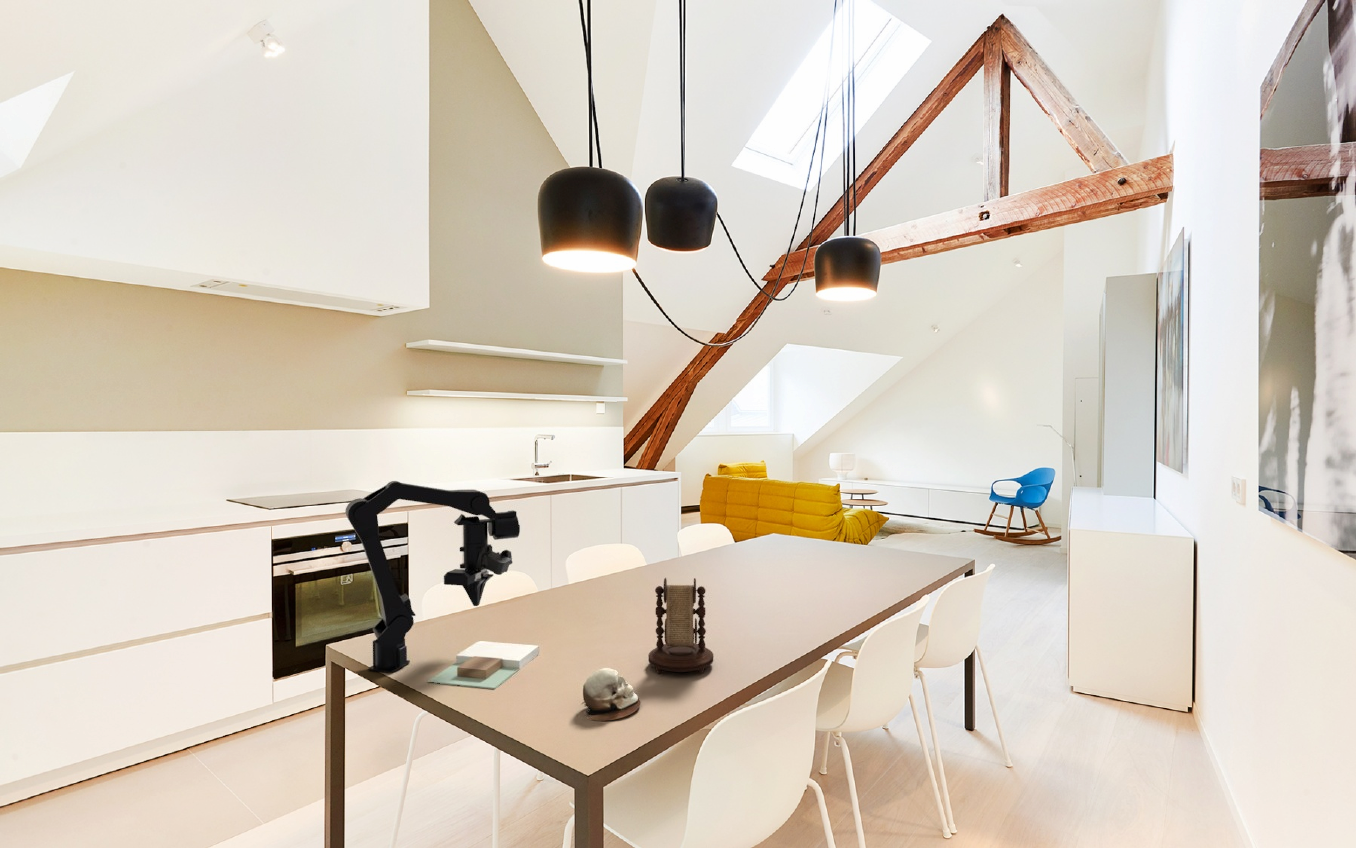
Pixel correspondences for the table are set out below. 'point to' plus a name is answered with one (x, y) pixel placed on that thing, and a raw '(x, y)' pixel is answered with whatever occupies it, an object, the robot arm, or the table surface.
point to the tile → (479, 667)
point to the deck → (501, 653)
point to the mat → (491, 683)
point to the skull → (608, 696)
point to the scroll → (680, 630)
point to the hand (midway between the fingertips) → (476, 605)
